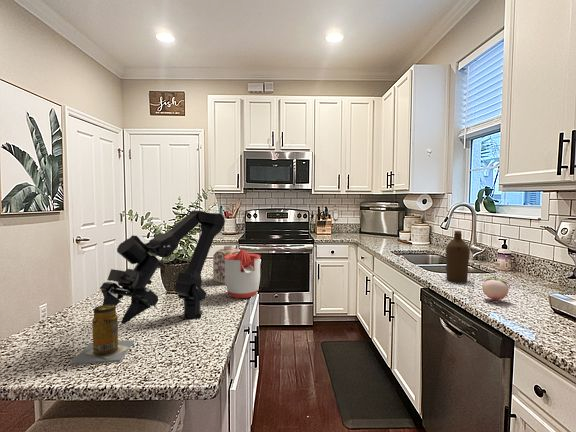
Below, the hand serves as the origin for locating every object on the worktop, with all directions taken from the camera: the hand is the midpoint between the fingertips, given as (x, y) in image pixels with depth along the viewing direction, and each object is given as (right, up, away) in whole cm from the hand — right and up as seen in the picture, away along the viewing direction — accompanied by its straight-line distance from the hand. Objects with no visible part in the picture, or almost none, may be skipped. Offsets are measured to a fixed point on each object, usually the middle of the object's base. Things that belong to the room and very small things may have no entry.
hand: (111, 320), depth 94 cm
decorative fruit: (+133, -6, +43) cm, 140 cm away
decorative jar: (+19, -4, +77) cm, 80 cm away
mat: (-1, -8, -2) cm, 8 cm away
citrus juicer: (+30, -5, +52) cm, 60 cm away
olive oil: (+135, -4, +78) cm, 155 cm away
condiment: (0, -8, -2) cm, 8 cm away
